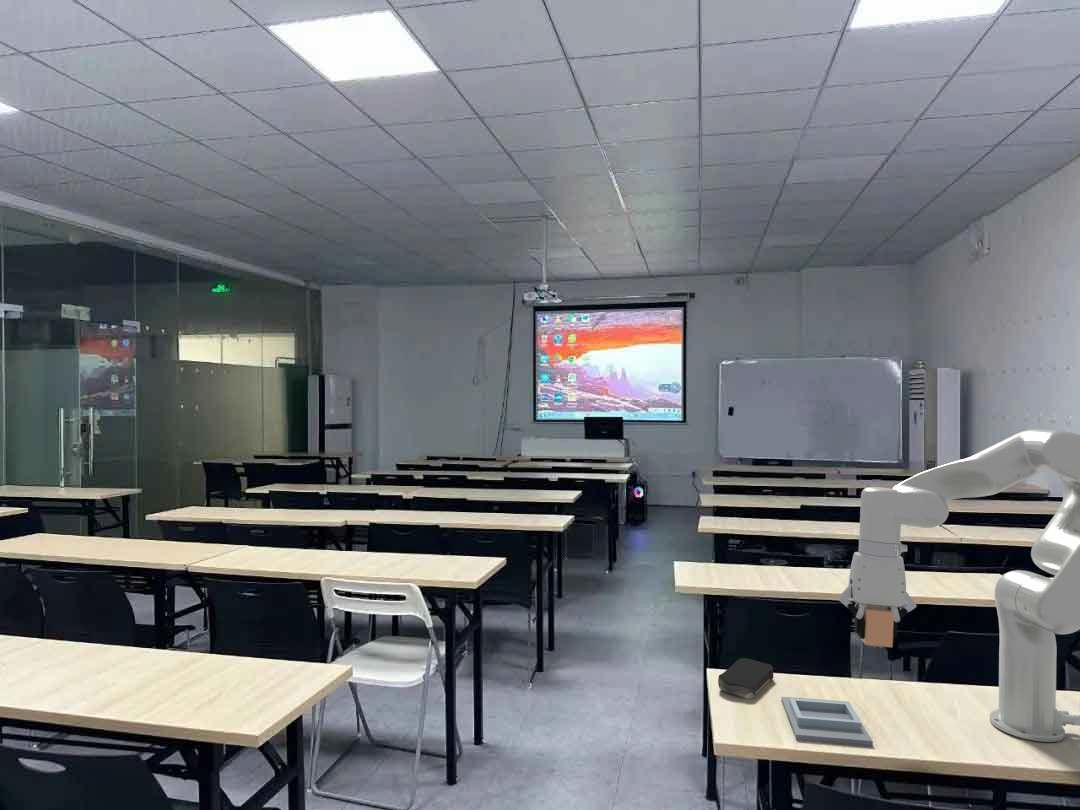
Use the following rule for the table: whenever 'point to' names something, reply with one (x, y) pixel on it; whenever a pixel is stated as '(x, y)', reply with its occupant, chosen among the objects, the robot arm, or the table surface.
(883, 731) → the table surface
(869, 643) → the orange rectangular block
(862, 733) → the holder dock
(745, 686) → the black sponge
